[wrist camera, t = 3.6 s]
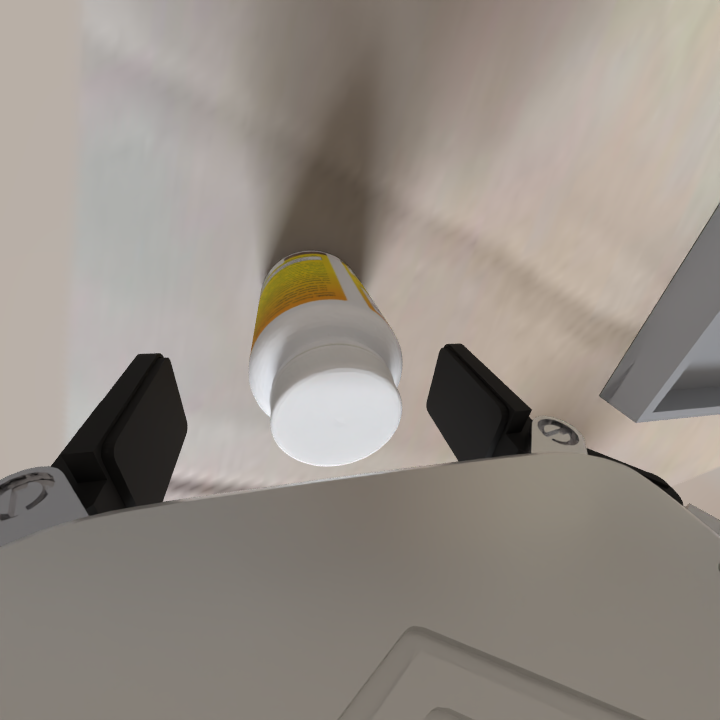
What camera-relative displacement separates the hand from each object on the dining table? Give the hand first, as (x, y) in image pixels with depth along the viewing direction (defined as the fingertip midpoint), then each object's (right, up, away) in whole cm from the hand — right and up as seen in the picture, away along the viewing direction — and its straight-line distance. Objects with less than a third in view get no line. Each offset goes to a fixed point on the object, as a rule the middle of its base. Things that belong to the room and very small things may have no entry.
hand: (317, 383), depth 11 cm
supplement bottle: (-1, +4, +7) cm, 8 cm away
